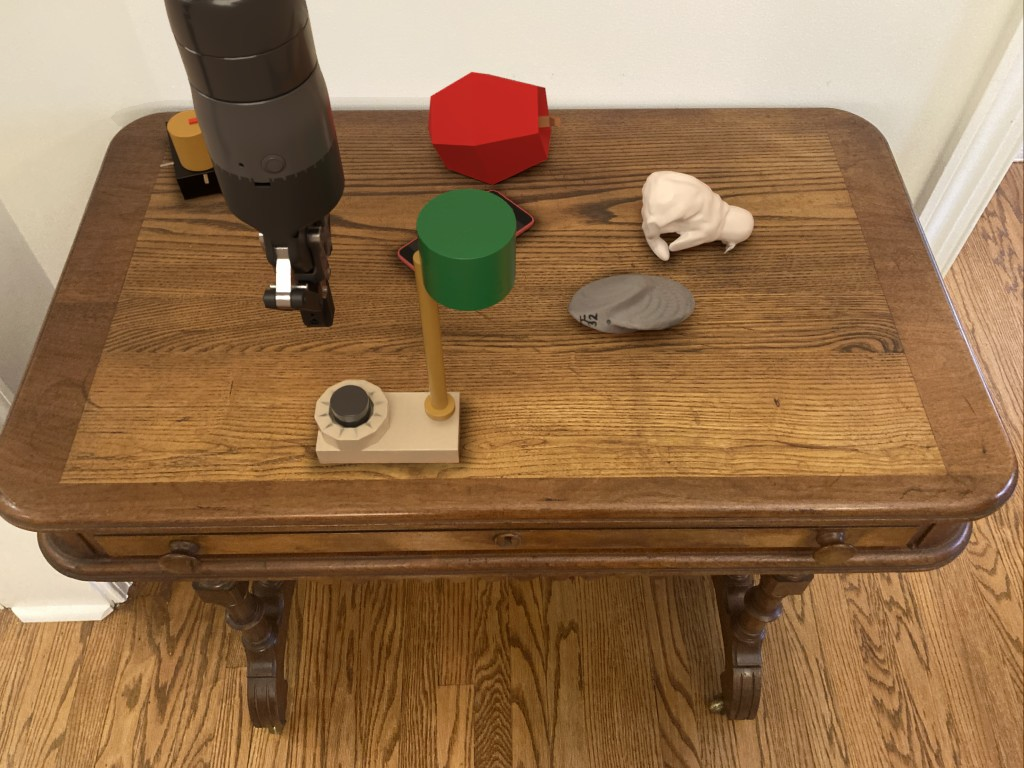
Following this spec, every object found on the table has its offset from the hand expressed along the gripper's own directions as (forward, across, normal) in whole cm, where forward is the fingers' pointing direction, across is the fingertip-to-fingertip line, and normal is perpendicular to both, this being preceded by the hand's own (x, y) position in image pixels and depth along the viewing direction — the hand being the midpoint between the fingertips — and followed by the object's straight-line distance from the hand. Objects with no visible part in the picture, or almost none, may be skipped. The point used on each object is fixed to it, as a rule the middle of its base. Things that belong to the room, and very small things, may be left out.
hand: (320, 319), depth 65 cm
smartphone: (+14, -23, +10) cm, 29 cm away
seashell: (+14, -13, +26) cm, 32 cm away
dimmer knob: (+11, -32, -19) cm, 39 cm away
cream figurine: (+14, -22, +33) cm, 43 cm away
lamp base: (+14, +1, +4) cm, 15 cm away
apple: (+14, -35, +12) cm, 40 cm away
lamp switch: (+11, +1, +1) cm, 11 cm away
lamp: (+10, +1, +11) cm, 15 cm away
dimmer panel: (+14, -34, -18) cm, 41 cm away
